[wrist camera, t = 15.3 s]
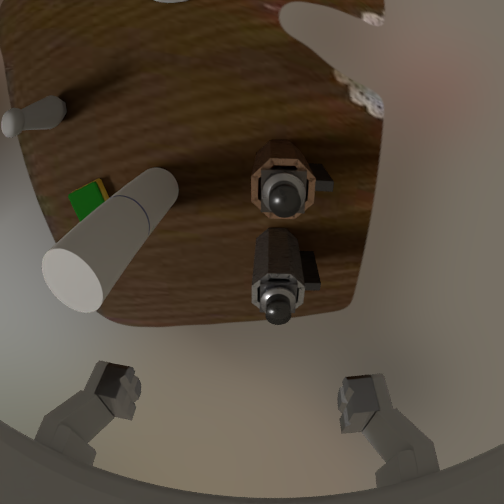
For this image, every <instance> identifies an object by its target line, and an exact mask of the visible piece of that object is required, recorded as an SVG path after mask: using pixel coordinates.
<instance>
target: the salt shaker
mask: <svg viewBox="0 0 504 504" xmlns="http://www.w3.org/2000/svg"><path fill="white" fill-rule="evenodd" d="M66 113H67V110H66V103H65V102H63V101H62V100H61V99H59V98H58V97H56V96H48V97H46V98H44V99H42V100H40V101H37V102H35V103H33V104H31V105H29V106H27V107H25V108H23V109H21V110H20V109H18V108H12V109H10V110H8V111H7V112H6V113H5V114H4V116H3V118H2V122H1V129H2V132H3V133H4V135H5V136H6V137H9V138H10V137H14V136H16V135H18V134H20V133H21V131H22V130H33V129H51V128H54V127H56V126H57V125H58V124H59V123H60V122H61V121H62V120H63V118H64V116H65V115H66Z"/></svg>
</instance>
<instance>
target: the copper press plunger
mask: <svg viewBox="0 0 504 504" xmlns="http://www.w3.org/2000/svg"><path fill="white" fill-rule="evenodd" d="M278 168H281V169H284V168H283V167H282V166H279V167H278ZM305 198H306V191H305V187H304V185H303V183H302V181H301V180H300V179H299V178H298V177H297V176H295V175H293V174H291V173H286V172H281V173H277V174H274V175H272V176H271V177H269V178H268V179H267V180H266V182H265V183H264V185H263V188H262V199H263V202H264V204H265V206H266V207H267V208H268V209H269V210H270V211H272V212H273V213H274V214H275V215H276V216H278V217H282V218H288V217H291V216H293V215H295V214H296V213H297V212H298V211H299V209H300V208H301V206H302V205H303V203H304V201H305Z"/></svg>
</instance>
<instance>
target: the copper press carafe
mask: <svg viewBox="0 0 504 504" xmlns="http://www.w3.org/2000/svg"><path fill="white" fill-rule="evenodd" d="M279 166H282V167H283V168H284V169H281V168H278V167H279ZM281 172H286V173H291V174H293V175H295V176H297V177H298V178H299V179H300V180H301V181H302V183H303V185H304V187H305V191H306V198H305V201H304V203H303V205H302V206H301V208H300V209H299V211H298V212H297V213H296V214H295V215H293V216H291V217H288V218H282V217H278V216H276V215H275V214H274V213H273V212H272V211H270V210H269V209H268V208H267V207H266V206H265V204H264V202H263V199H262V188H263V185H264V183H265V182H266V180H267V179H268V178H269V177H271V176H272V175H274V174H277V173H281ZM333 184H334V181H333V180H332V178H331V177H330V175H329V174H328V173H327V171H326V170H325V168H324V167H323V165H322V164H313V163H307V161H306V159H305V157H304V155H303V154H302V153H301V152H300V151H299V150H298V149H297V148H296V147H295V146H294V144H293V143H292V142H291V141H287V140H270V141H269V142H267V143H266V144H265V145H264V146H263V147H262V148H261V149H260V150H259V151H258V152H257V153H256V157H255V161H254V166H253V170H252V175H251V201H252V202H253V203H254V204H255V205H256V206H257V207H258V208H259V209H260V210H261V212H263V213H264V214H265V215H266V216H267V217H269V218H276V219H295V218H297V217H298V216H299V215H300V214H301V213H304V212H305V210H306V209H307V208H308V207H310V206H311V205H312V204H313V203H314V195H315V191H332V192H333Z"/></svg>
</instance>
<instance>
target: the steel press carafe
mask: <svg viewBox="0 0 504 504" xmlns="http://www.w3.org/2000/svg"><path fill="white" fill-rule="evenodd" d="M274 278H281V281H274ZM320 285H321V282H320V278H319V273H318V269H317V264H316V260H315V256H314V252H313V251H299V245H298V239H296V238H295V237H294V236H293V235H292V234H291V233H290V232H289V231H288V230H287V229H286V228H268V229H267V230H266V231H264V232H263V233H262V234H261V235H260V236H259V237H257V238H256V247H255V257H254V268H253V278H252V303H253V304H254V305H256V306H257V307H258V308H260V312H265V311H264V310H263V309H262V307H261V303H260V302H261V296H262V294H263V293H264V292H265V291H266V290H268V289H270V288H273V287H284V288H287V289H289V290H291V291H292V292H293V293H294V295H295V298H296V305H295V308H294V309H293V310H292V311H291V313H295V309H296V308H297V307H299V306H300V305H302V304H303V299H304V291H305V290H320ZM265 313H266V312H265Z"/></svg>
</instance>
